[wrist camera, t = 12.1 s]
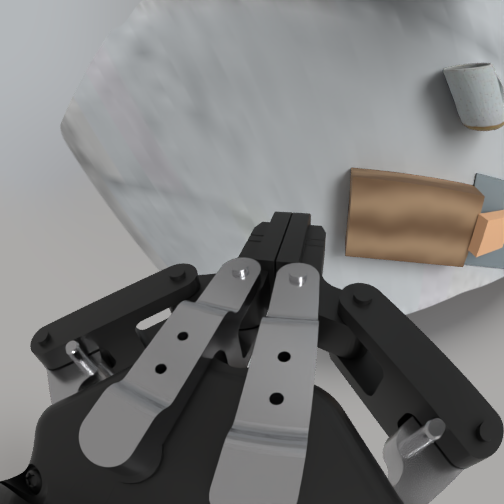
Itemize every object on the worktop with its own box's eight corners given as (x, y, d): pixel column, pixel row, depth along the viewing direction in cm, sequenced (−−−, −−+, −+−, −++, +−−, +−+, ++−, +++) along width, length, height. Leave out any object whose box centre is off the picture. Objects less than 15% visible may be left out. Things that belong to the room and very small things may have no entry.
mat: (476, 173, 28) (477, 173, 28) (533, 189, 24) (534, 190, 24) (452, 262, 37) (452, 263, 37) (507, 268, 33) (507, 268, 33)
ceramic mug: (454, 126, 26) (479, 137, 20) (433, 70, 23) (457, 68, 16) (505, 112, 21) (534, 122, 15) (487, 59, 18) (516, 58, 11)
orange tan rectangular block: (478, 213, 27) (488, 220, 26) (504, 209, 28) (512, 215, 26) (467, 249, 31) (476, 257, 29) (494, 241, 31) (502, 247, 30)
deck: (351, 167, 35) (352, 176, 31) (473, 185, 29) (484, 196, 26) (345, 241, 41) (345, 255, 38) (455, 252, 36) (462, 267, 33)
